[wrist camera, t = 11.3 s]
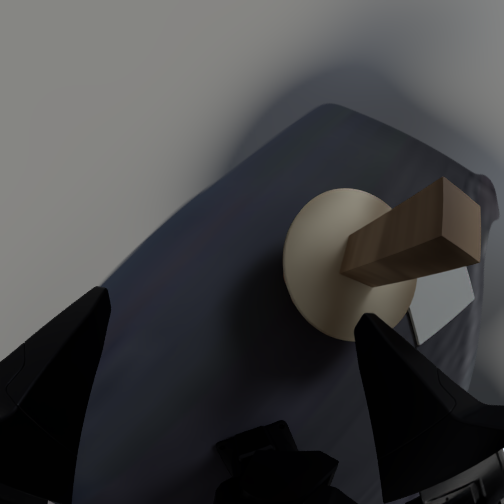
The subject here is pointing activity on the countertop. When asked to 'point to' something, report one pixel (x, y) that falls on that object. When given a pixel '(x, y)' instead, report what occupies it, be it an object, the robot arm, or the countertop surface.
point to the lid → (374, 252)
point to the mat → (439, 301)
